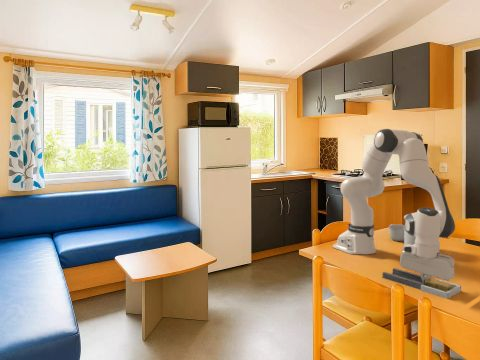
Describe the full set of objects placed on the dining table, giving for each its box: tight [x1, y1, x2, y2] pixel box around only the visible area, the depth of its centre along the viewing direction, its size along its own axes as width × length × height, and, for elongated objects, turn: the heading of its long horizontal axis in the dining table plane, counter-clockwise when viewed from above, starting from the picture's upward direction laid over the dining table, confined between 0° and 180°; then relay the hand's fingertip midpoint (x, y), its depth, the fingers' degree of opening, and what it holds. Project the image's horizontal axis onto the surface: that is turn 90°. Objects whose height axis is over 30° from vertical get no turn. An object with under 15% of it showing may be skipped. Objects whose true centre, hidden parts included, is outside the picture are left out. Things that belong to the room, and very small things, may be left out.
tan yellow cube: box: [425, 276, 441, 289], centre depth 150 cm, size 4×4×4 cm
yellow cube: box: [436, 280, 454, 292], centre depth 146 cm, size 4×4×4 cm
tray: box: [420, 278, 462, 300], centre depth 148 cm, size 10×11×3 cm
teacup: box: [388, 223, 405, 242], centre depth 223 cm, size 14×11×8 cm
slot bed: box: [381, 267, 427, 291], centre depth 158 cm, size 17×10×3 cm, turn 37°
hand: (425, 284), depth 152 cm, fingers closed
